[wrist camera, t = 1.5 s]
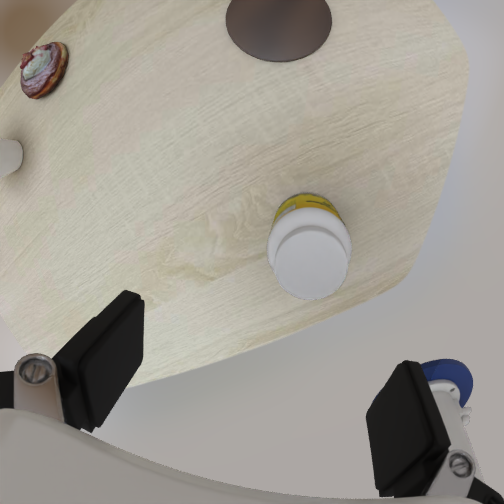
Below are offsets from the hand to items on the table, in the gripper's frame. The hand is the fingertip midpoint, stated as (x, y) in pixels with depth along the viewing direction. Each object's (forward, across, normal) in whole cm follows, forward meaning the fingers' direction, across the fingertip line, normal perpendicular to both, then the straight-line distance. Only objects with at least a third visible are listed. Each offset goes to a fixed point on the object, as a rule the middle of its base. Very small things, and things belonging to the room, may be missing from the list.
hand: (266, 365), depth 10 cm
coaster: (+20, +5, -20) cm, 29 cm away
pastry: (+21, +33, -12) cm, 41 cm away
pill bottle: (+21, -2, 0) cm, 21 cm away
